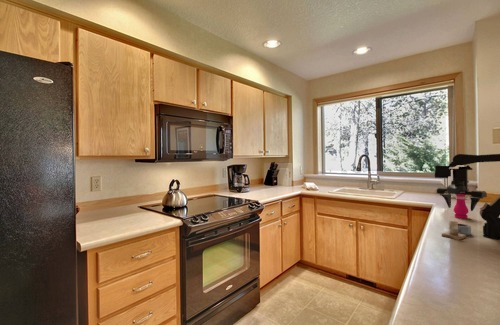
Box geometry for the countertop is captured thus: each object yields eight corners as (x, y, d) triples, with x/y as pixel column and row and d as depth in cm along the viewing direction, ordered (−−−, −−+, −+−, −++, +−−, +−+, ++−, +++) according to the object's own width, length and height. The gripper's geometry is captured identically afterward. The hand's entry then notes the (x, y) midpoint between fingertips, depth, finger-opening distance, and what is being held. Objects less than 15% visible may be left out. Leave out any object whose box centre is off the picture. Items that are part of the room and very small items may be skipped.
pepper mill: (463, 219, 150) (462, 187, 150) (450, 216, 157) (450, 185, 157) (471, 218, 152) (471, 186, 152) (458, 215, 159) (458, 185, 159)
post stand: (466, 237, 116) (466, 222, 116) (459, 239, 113) (458, 224, 113) (448, 233, 122) (448, 219, 122) (441, 235, 119) (441, 221, 119)
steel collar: (472, 233, 121) (472, 225, 121) (466, 235, 118) (466, 227, 118) (455, 230, 128) (455, 222, 128) (449, 232, 124) (449, 224, 124)
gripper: (430, 178, 128) (430, 207, 128) (476, 180, 111) (476, 214, 111) (442, 177, 133) (442, 205, 133) (487, 179, 116) (487, 212, 116)
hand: (460, 209), depth 123 cm, fingers open, 9 cm apart
